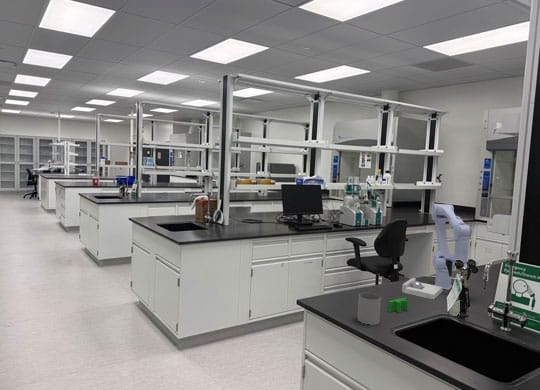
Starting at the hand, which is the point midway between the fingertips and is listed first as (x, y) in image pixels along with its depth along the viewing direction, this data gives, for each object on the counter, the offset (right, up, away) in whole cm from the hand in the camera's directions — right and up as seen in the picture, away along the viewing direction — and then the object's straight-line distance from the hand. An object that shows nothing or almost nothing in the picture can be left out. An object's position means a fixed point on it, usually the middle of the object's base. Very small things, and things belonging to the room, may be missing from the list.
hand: (458, 277), depth 181 cm
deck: (-15, -9, +8) cm, 19 cm away
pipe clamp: (-35, -10, -19) cm, 41 cm away
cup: (-52, -10, -32) cm, 62 cm away
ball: (-17, -6, +9) cm, 20 cm away
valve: (-10, -11, -19) cm, 24 cm away
